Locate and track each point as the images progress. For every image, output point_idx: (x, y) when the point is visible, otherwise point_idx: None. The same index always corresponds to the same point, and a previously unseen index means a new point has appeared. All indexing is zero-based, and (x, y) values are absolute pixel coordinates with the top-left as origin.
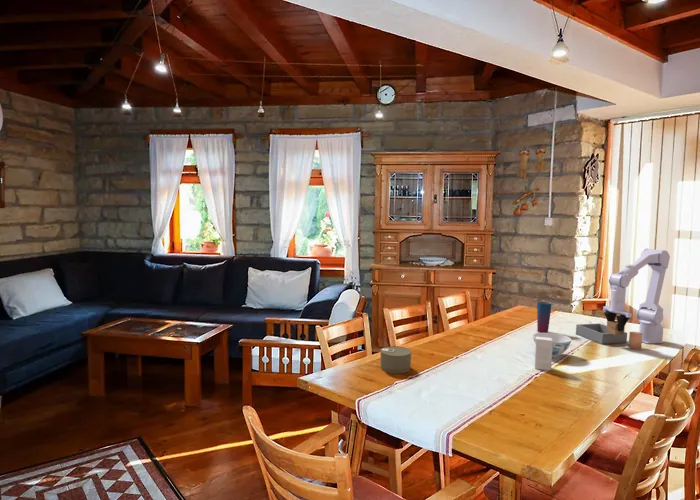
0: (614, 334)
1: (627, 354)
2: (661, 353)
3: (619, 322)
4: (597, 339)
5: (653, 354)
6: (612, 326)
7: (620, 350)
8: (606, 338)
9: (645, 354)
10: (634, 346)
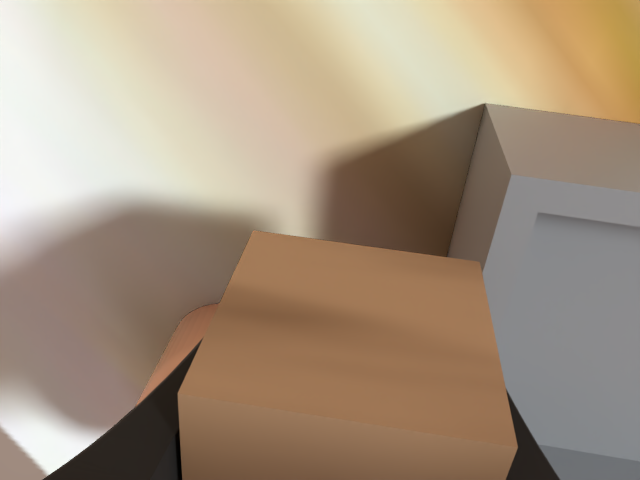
0: (265, 234)
1: (7, 50)
2: (41, 411)
3: (78, 473)
4: (603, 136)
5: (10, 328)
6: (305, 340)
7: (181, 119)
8: (476, 217)
9: (10, 258)
10: (181, 332)
